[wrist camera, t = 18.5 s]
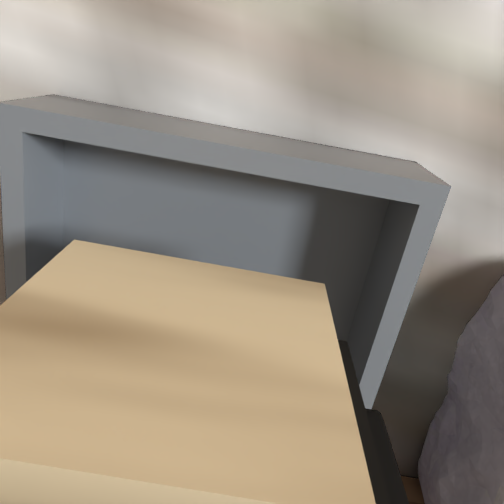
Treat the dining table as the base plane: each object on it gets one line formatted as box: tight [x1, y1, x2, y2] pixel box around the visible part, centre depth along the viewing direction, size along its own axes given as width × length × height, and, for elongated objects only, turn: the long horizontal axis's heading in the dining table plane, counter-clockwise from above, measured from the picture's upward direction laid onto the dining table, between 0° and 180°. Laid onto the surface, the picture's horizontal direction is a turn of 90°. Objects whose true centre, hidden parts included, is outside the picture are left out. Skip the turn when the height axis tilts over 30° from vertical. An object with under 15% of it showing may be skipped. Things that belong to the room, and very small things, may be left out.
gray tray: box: [0, 95, 451, 409], centre depth 12 cm, size 9×9×2 cm
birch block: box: [0, 240, 376, 504], centre depth 8 cm, size 5×5×5 cm
